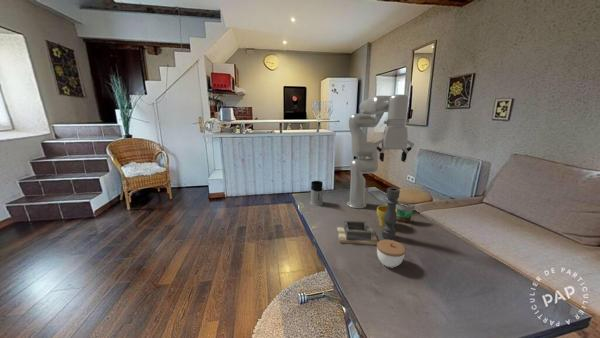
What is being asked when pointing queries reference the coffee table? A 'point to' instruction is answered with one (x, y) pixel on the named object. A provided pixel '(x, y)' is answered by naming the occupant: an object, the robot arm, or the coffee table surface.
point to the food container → (404, 212)
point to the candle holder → (390, 214)
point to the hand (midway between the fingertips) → (392, 161)
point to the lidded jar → (390, 253)
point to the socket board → (356, 233)
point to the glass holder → (317, 193)
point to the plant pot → (382, 214)
